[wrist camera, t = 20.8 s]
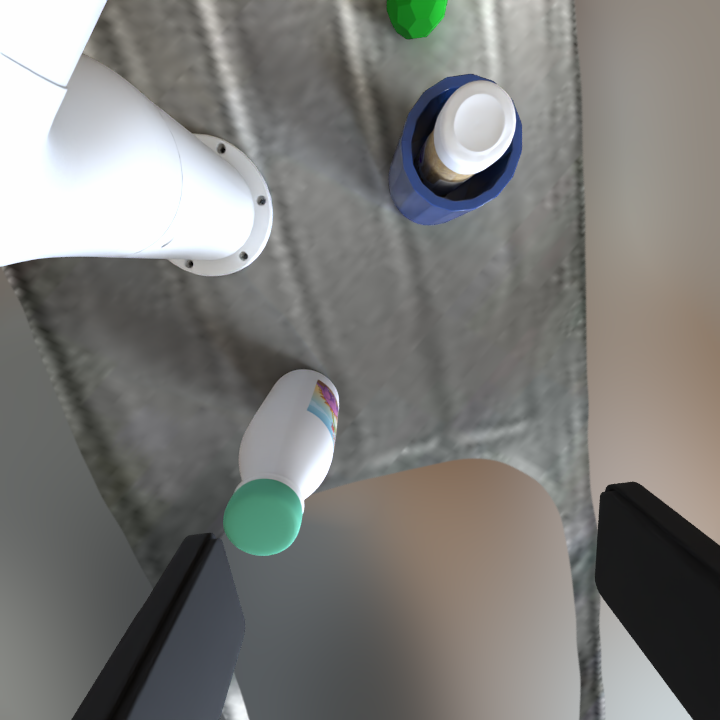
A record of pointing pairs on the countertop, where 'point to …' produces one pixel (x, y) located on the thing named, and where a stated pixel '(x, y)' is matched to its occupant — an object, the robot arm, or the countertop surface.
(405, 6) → the polyhedron
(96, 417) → the countertop surface
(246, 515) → the milk bottle
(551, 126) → the countertop surface
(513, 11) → the countertop surface
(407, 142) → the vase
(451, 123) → the sprinkles bottle
